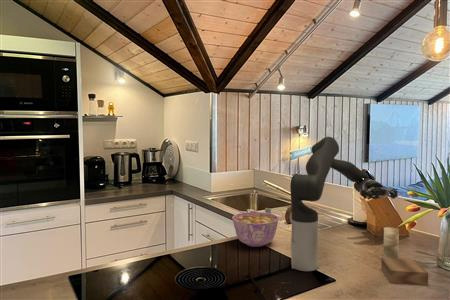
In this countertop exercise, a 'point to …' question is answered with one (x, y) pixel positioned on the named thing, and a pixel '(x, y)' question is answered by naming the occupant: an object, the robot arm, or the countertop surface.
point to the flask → (268, 210)
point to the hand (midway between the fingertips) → (382, 195)
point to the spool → (391, 242)
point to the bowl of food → (255, 227)
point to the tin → (288, 215)
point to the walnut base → (404, 271)
